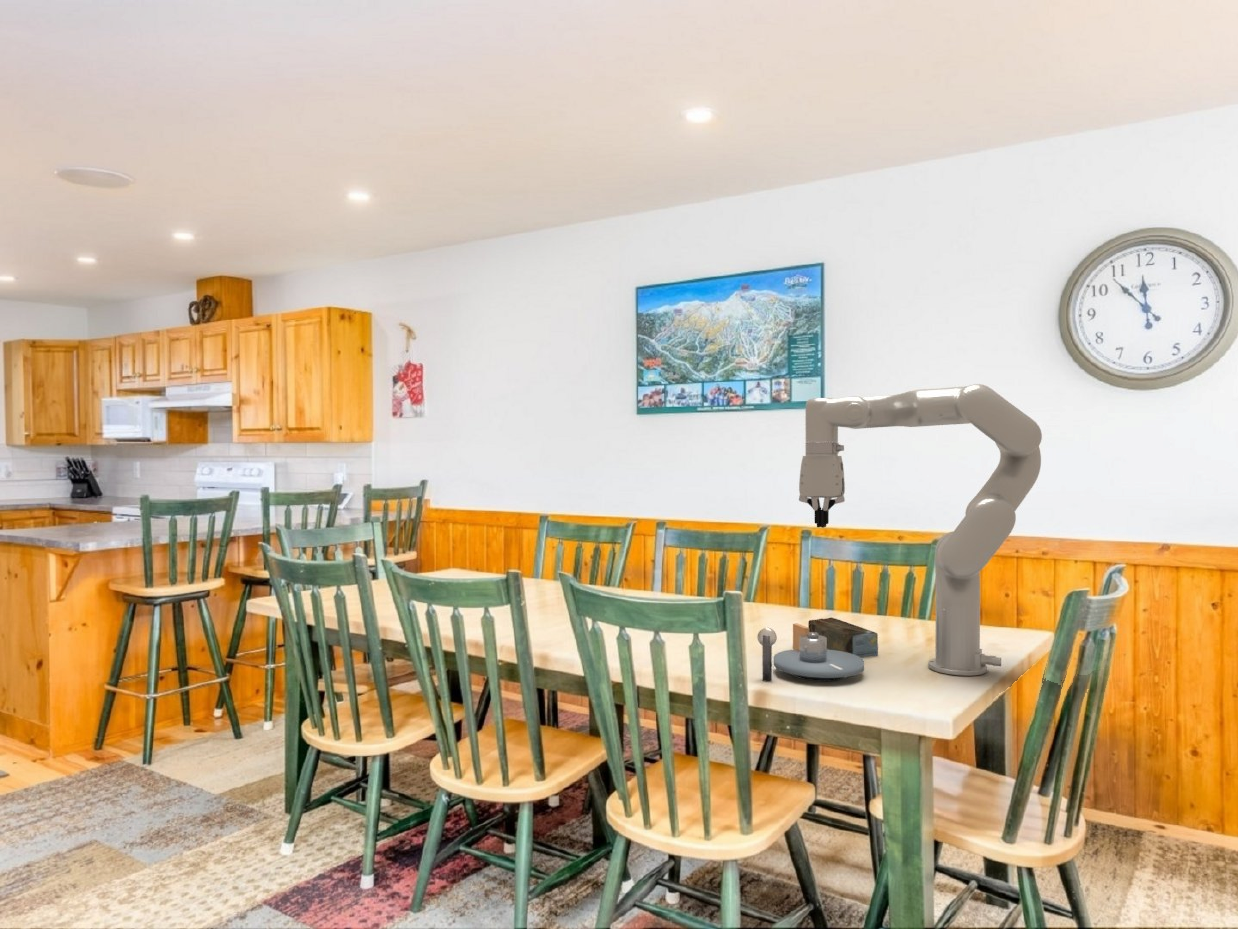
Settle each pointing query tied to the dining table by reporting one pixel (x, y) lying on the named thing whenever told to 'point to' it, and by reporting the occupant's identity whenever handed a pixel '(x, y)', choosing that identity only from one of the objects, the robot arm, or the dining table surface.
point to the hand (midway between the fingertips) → (821, 526)
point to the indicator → (767, 651)
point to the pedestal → (818, 678)
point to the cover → (813, 648)
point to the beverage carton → (846, 637)
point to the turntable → (832, 668)
